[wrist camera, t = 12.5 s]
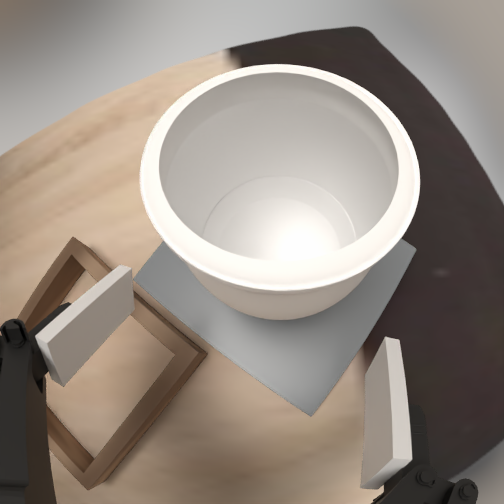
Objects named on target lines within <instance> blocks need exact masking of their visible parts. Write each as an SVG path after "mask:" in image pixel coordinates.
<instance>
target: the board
mask: <svg viewBox="0 0 504 504" xmlns="http://www.w3.org/2000/svg"><path fill="white" fill-rule="evenodd" d="M415 251H416V249H415V248H414V247H413V246H411V245H410V244H408V243H407V242H405V241H404V240H403V239H401V238H400V240H399V241H398V242H397V243H396V245H395V246H394V247H393V248H392V249H391V250H390V251H389V252H388V253H387V254H386V255H385V256H384V257H382V258H381V259H380V260H379V261H378V262H377V263H376V264H374V265H373V266H372V267H371V268H370V270H369V271H368V273H367V274H366V276H365V277H364V278H363V279H362V281H361V282H360V283H359V284H358V285H357V286H356V287H355V288H354V289H353V290H352V291H351V292H350V293H349V294H348V295H347V296H345V297H344V298H343V299H342V300H340V301H339V302H337V303H336V304H334V305H333V306H331V307H329V308H327V309H325V310H323V311H321V312H319V313H316V314H313V315H310V316H307V317H303V318H298V319H291V320H270V319H263V318H258V317H254V316H251V315H247V314H245V313H242V312H240V311H237V310H235V309H233V308H231V307H230V306H228V305H226V304H225V303H223V302H222V301H220V300H219V299H217V298H216V297H215V296H214V295H212V294H211V293H210V292H209V291H208V290H207V289H206V288H205V287H204V286H203V285H202V284H201V283H200V282H199V281H198V279H197V278H196V277H195V276H194V274H193V273H192V272H191V270H190V269H189V267H188V266H187V264H186V263H185V262H184V261H182V260H181V259H180V258H179V257H178V256H177V255H176V254H175V253H174V252H173V251H172V250H171V249H170V248H169V247H168V246H167V245H166V244H165V242H164V241H163V242H162V243H161V245H160V246H159V247H158V248H157V250H156V251H155V252H154V253H153V255H152V256H151V257H150V258H149V260H148V261H147V262H146V263H145V265H144V266H143V267H142V268H141V270H140V271H139V272H138V273H137V275H136V276H135V277H134V279H133V280H134V281H135V282H136V283H137V284H139V285H140V286H141V287H142V288H143V289H144V290H145V291H146V292H148V293H149V294H150V295H151V296H152V297H153V298H154V299H156V300H157V301H158V302H159V303H160V304H161V305H163V306H164V307H165V308H166V309H167V310H168V311H170V312H171V313H172V314H173V315H174V316H176V317H177V318H178V319H179V320H180V321H182V322H183V323H184V324H185V325H186V326H188V327H189V328H190V329H191V330H193V331H194V332H195V333H196V334H197V335H199V336H200V337H201V338H202V339H204V340H205V341H206V342H208V343H209V344H210V345H211V346H213V347H214V348H215V349H216V350H218V351H219V352H220V353H222V354H223V355H224V356H226V357H227V358H228V359H230V360H231V361H232V362H233V363H235V364H236V365H238V366H239V367H240V368H242V369H243V370H244V371H246V372H247V373H248V374H250V375H251V376H252V377H254V378H255V379H257V380H258V381H259V382H261V383H262V384H264V385H265V386H266V387H268V388H269V389H271V390H272V391H274V392H275V393H276V394H278V395H279V396H281V397H282V398H284V399H285V400H287V401H288V402H290V403H291V404H293V405H294V406H296V407H297V408H299V409H300V410H302V411H303V412H305V413H306V414H308V415H309V416H312V415H313V414H314V412H315V411H316V410H317V408H318V407H319V406H320V405H321V403H322V402H323V401H324V399H325V398H326V396H327V395H328V394H329V392H330V391H331V390H332V388H333V387H334V385H335V384H336V383H337V381H338V380H339V378H340V377H341V376H342V374H343V373H344V371H345V370H346V368H347V367H348V365H349V364H350V362H351V361H352V360H353V358H354V357H355V355H356V353H357V352H358V350H359V349H360V347H361V346H362V344H363V343H364V341H365V340H366V338H367V336H368V335H369V333H370V332H371V330H372V328H373V327H374V325H375V323H376V322H377V320H378V319H379V317H380V315H381V314H382V312H383V310H384V308H385V307H386V305H387V303H388V302H389V300H390V298H391V296H392V294H393V293H394V291H395V289H396V287H397V286H398V284H399V282H400V280H401V278H402V276H403V274H404V273H405V271H406V269H407V267H408V265H409V263H410V261H411V259H412V257H413V255H414V253H415Z"/></svg>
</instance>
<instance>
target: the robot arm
mask: <svg viewBox="0 0 504 504" xmlns="http://www.w3.org/2000/svg"><path fill="white" fill-rule="evenodd" d="M134 310H135V308H134V296H133V281H132V268H130V267H126V266H123V265H119V266H118V267H116V268H115V269H114V270H113V271H111V272H110V273H109V274H108V275H106V276H105V277H104V278H103V279H101V280H100V281H99V282H98V283H97V284H95V285H94V286H93V287H92V288H90V289H89V290H88V291H87V292H86V293H84V294H83V295H82V296H81V297H80V298H78V299H77V300H76V301H75V302H74V303H72V304H71V303H69V302H68V303H65V304H63V305H61V306H59V307H57V308H56V309H55V310H54V311H53V312H52V313H50V314H49V315H48V316H47V317H46V318H44V319H43V320H42V321H41V322H40V323H39V324H37V325H36V326H35V327H34V328H33V329H32V330H30V331H29V332H27V329H26V326H25V324H24V322H23V321H22V320H19V319H11V320H8V321H6V322H5V323H4V324H3V325H2V326H1V328H0V331H1V334H2V336H1V335H0V504H57V502H56V497H55V491H54V485H53V478H52V471H51V463H50V455H49V444H48V431H47V412H46V378H45V374H46V373H47V372H48V371H49V374H50V376H51V378H52V380H54V381H55V382H57V383H58V384H60V385H61V386H63V387H64V386H65V385H66V383H67V382H68V381H69V380H70V379H71V378H72V377H73V376H74V374H75V373H76V372H77V371H78V370H79V369H80V368H81V367H82V366H83V365H84V363H85V362H86V361H87V360H88V359H89V358H90V357H91V356H92V355H93V354H94V352H95V351H96V350H97V349H98V348H99V347H100V346H101V345H102V344H103V343H104V342H105V340H106V339H107V338H108V337H109V336H110V335H111V334H112V333H113V332H114V331H115V330H116V329H117V328H118V327H119V326H120V324H121V323H122V322H123V321H124V320H125V319H126V318H127V317H128V316H129V315H130V314H131V313H132V312H133V311H134ZM426 434H427V430H426V421H425V415H424V413H423V411H422V409H421V407H420V406H419V405H411V404H408V399H407V390H406V382H405V375H404V368H403V361H402V354H401V348H400V342H399V340H397V339H392V338H388V337H385V338H384V340H383V342H382V344H381V346H380V348H379V350H378V352H377V354H376V356H375V358H374V359H373V361H372V363H371V365H370V367H369V369H368V371H367V372H366V374H365V416H364V443H363V460H362V473H361V485H360V488H365V489H379V488H380V487H381V486H382V485H384V492H383V493H382V494H381V495H379V496H378V497H377V498H375V499H374V500H373V501H374V502H372V503H371V504H476V500H477V497H478V489H477V486H476V485H475V483H474V482H473V481H471V480H469V479H461V480H459V481H458V482H457V483H452V482H450V481H447V480H444V479H441V478H439V477H438V475H437V472H436V471H435V469H434V468H433V467H431V466H430V461H429V449H428V439H427V435H426Z"/></svg>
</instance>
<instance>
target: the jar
mask: <svg viewBox="0 0 504 504" xmlns="http://www.w3.org/2000/svg"><path fill="white" fill-rule="evenodd" d="M140 189H141V195H142V199H143V203H144V206H145V209H146V212H147V214H148V216H149V218H150V220H151V222H152V224H153V226H154V227H155V229H156V231H157V232H158V234H159V235H160V237H161V238H162V240H163V241H164V242H165V244H166V245H167V246H168V247H169V248H170V249H171V250H172V251H173V252H174V253H175V254H176V255H177V256H178V257H179V258H180V259H181V260H182V261H184V262H185V263H186V264H187V266H188V267H189V269H190V270H191V272H192V273H193V274H194V276H195V277H196V278H197V279H198V281H199V282H200V283H201V284H202V285H203V286H204V287H205V288H206V289H207V290H208V291H209V292H210V293H211V294H212V295H214V296H215V297H216V298H217V299H219V300H220V301H222V302H223V303H225V304H226V305H228V306H230V307H231V308H233V309H235V310H237V311H240V312H242V313H245V314H247V315H251V316H254V317H258V318H263V319H270V320H291V319H298V318H303V317H307V316H310V315H313V314H316V313H319V312H321V311H323V310H325V309H327V308H329V307H331V306H333V305H334V304H336V303H337V302H339V301H340V300H342V299H343V298H344V297H345V296H347V295H348V294H349V293H350V292H351V291H352V290H353V289H354V288H355V287H356V286H357V285H358V284H359V283H360V282H361V281H362V279H363V278H364V277H365V276H366V274H367V273H368V271H369V270H370V268H371V267H372V266H373V265H374V264H376V263H377V262H378V261H379V260H380V259H381V258H382V257H384V256H385V255H386V254H387V253H388V252H389V251H390V250H391V249H392V248H393V247H394V246H395V245H396V243H397V242H398V241H399V240H400V238H401V237H402V236H403V234H404V233H405V231H406V229H407V228H408V226H409V224H410V222H411V220H412V218H413V215H414V212H415V210H416V206H417V202H418V197H419V190H420V173H419V165H418V160H417V156H416V153H415V150H414V147H413V145H412V142H411V140H410V138H409V136H408V134H407V132H406V131H405V129H404V127H403V126H402V124H401V123H400V122H399V120H398V119H397V118H396V116H395V115H394V114H393V113H392V112H391V111H390V110H389V109H388V108H387V107H386V106H385V105H384V104H383V103H382V102H381V101H380V100H379V99H378V98H376V97H375V96H374V95H372V94H371V93H370V92H368V91H367V90H365V89H364V88H362V87H360V86H359V85H357V84H355V83H353V82H351V81H349V80H347V79H345V78H343V77H340V76H338V75H335V74H332V73H329V72H326V71H323V70H319V69H315V68H310V67H305V66H297V65H284V64H272V65H259V66H252V67H246V68H241V69H237V70H233V71H230V72H227V73H224V74H221V75H218V76H216V77H214V78H211V79H209V80H207V81H205V82H203V83H201V84H200V85H198V86H196V87H194V88H193V89H191V90H190V91H188V92H187V93H186V94H184V95H183V96H182V97H180V98H179V99H178V100H177V101H176V102H175V103H174V104H173V105H172V106H171V107H170V108H169V109H168V110H167V111H166V112H165V113H164V114H163V116H162V117H161V118H160V119H159V121H158V122H157V124H156V125H155V127H154V128H153V130H152V132H151V134H150V136H149V138H148V140H147V143H146V145H145V148H144V151H143V155H142V160H141V166H140Z"/></svg>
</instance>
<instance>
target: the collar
mask: <svg viewBox="0 0 504 504" xmlns="http://www.w3.org/2000/svg"><path fill="white" fill-rule="evenodd" d="M85 269H86V270H87V271H88V273H89V274H90V275H91V276H92V277H93V278H94V279H95V280H96V281H97V282H99V281H100V280H101V279H103V278H104V277H105V276H106V275H108V274H109V273H110V272H111V271H112V270H111V269H110V268H109V267H108V266H107V265H106V264H105V263H104V262H103V261H102V260H101V259H100V258H99V257H98V256H97V255H96V254H95V253H94V252H93V251H92V250H91V249H90V248H89V247H87V246H86V245H84V244H83V243H81V242H80V241H79V240H77V239H76V238H74V237H72V238H71V240H70V241H69V242H68V243H67V245H66V246H65V248H64V249H63V250H62V252H61V253H60V254H59V256H58V257H57V259H56V260H55V261H54V263H53V264H52V266H51V267H50V268H49V270H48V271H47V273H46V274H45V276H44V277H43V279H42V280H41V282H40V283H39V285H38V286H37V288H36V289H35V291H34V292H33V294H32V295H31V297H30V299H29V300H28V302H27V303H26V305H25V307H24V308H23V310H22V311H21V313H20V315H19V316H18V318H17V319H19V320H22V321H23V322H24V324H25V326H26V329H27V332H29V331H30V330H32V329H33V328H34V327H35V326H36V325H37V324H39V323H40V322H41V321H42V320H43V319H44V318H46V317H47V316H48V315H49V314H50V313H52V312H53V311H54V310H55V309H56V308H57V307H59V305H60V304H61V302H62V301H63V299H64V298H65V296H66V295H67V293H68V292H69V291H70V289H71V288H72V286H73V285H74V284H75V282H76V281H77V279H78V278H79V277H80V275H81V274H82V273H83V271H84V270H85ZM133 296H134V308H135V310H134V311H133V312H132V313H131V314H130V315H131V316H133V317H134V318H135V319H136V320H137V321H138V322H139V323H140V324H141V325H142V326H143V327H144V328H145V329H147V330H148V331H149V332H150V333H151V334H152V335H153V336H154V337H155V338H157V339H158V340H159V341H160V342H161V343H162V344H163V345H165V346H166V347H167V348H168V349H169V350H170V351H171V352H173V353H174V354H175V357H174V358H173V359H172V360H171V362H170V363H169V364H168V366H167V367H166V368H165V369H164V371H163V372H162V373H161V375H160V376H159V377H158V378H157V380H156V381H155V382H154V384H153V385H152V386H151V387H150V389H149V390H148V391H147V393H146V394H145V395H144V396H143V398H142V399H141V400H140V402H139V403H138V404H137V405H136V407H135V408H134V409H133V411H132V412H131V413H130V414H129V416H128V417H127V418H126V420H125V421H124V422H123V423H122V425H121V426H120V427H119V429H118V430H117V431H116V432H115V434H114V435H113V436H112V438H111V439H110V440H109V441H108V443H107V444H106V445H105V446H104V448H103V449H102V450H101V452H100V453H99V454H98V455H97V457H96V458H95V459H94V458H93V457H92V456H91V455H90V454H89V453H88V452H87V451H86V450H85V449H84V448H83V447H82V446H81V445H80V444H79V443H78V441H77V440H76V439H75V438H74V437H73V436H72V435H71V434H70V433H69V431H68V430H67V429H66V428H65V427H64V426H63V425H62V423H61V422H60V421H59V420H58V419H57V417H56V416H55V415H54V414H53V413H52V411H51V410H50V409H49V408H48V406H47V405H46V412H47V431H48V444H49V449H50V450H51V452H52V453H53V454H54V455H55V456H56V457H57V458H58V460H59V461H60V462H61V463H62V464H63V465H64V466H65V467H66V468H67V470H68V471H69V472H70V473H71V474H72V475H73V476H74V477H75V478H76V479H77V480H78V481H79V482H80V483H81V484H82V485H83V486H84V487H85V488H86V489H87V490H90V489H92V488H93V487H95V486H97V485H99V484H101V483H102V482H104V481H105V480H106V479H107V478H108V477H109V475H110V474H111V473H112V472H113V471H114V469H115V468H116V467H117V466H118V465H119V463H120V462H121V461H122V460H123V459H124V457H125V456H126V455H127V454H128V453H129V451H130V450H131V449H132V448H133V447H134V445H135V444H136V443H137V442H138V440H139V439H140V438H141V437H142V436H143V434H144V433H145V432H146V431H147V429H148V428H149V427H150V426H151V425H152V423H153V422H154V421H155V420H156V418H157V417H158V416H159V415H160V413H161V412H162V411H163V410H164V408H165V407H166V406H167V405H168V403H169V402H170V401H171V400H172V398H173V397H174V396H175V395H176V393H177V392H178V391H179V390H180V388H181V387H182V386H183V385H184V383H185V382H186V381H187V380H188V378H189V377H190V376H191V375H192V373H193V372H194V371H195V369H196V368H197V367H198V366H199V364H200V363H201V362H202V360H203V359H204V358H205V357H206V355H207V353H206V352H205V351H204V350H202V349H201V348H200V347H199V346H197V345H196V344H195V343H194V342H192V341H191V340H190V339H189V338H187V337H186V336H185V335H184V334H183V333H181V332H180V331H179V330H178V329H177V328H175V327H174V326H173V325H172V324H171V323H170V322H168V321H167V320H166V319H165V318H164V317H163V316H161V315H160V314H159V313H158V312H157V311H156V310H155V309H153V308H152V307H151V306H150V305H149V304H148V303H147V302H145V301H144V300H143V299H142V298H141V297H140V296H139V295H138V294H137V293H136V292H134V291H133Z"/></svg>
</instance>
